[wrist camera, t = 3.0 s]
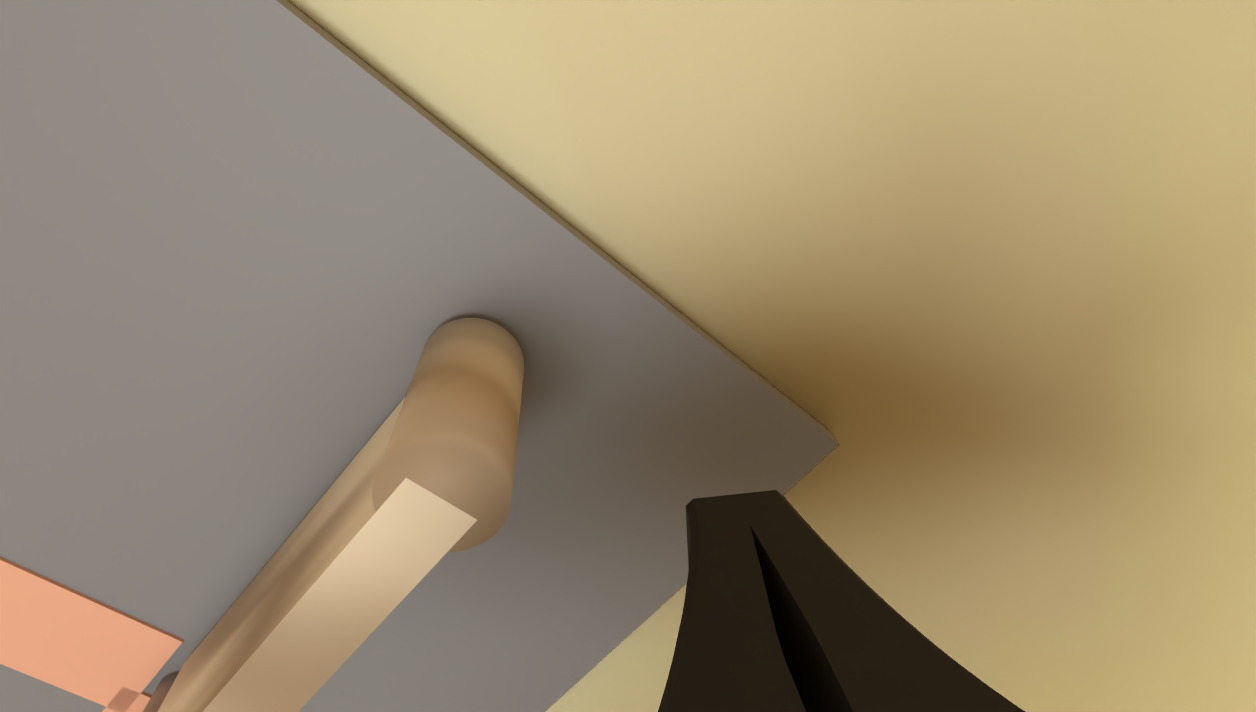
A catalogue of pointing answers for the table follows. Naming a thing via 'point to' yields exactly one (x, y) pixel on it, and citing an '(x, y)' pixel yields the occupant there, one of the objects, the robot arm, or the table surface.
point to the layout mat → (313, 365)
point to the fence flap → (372, 530)
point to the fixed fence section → (160, 692)
